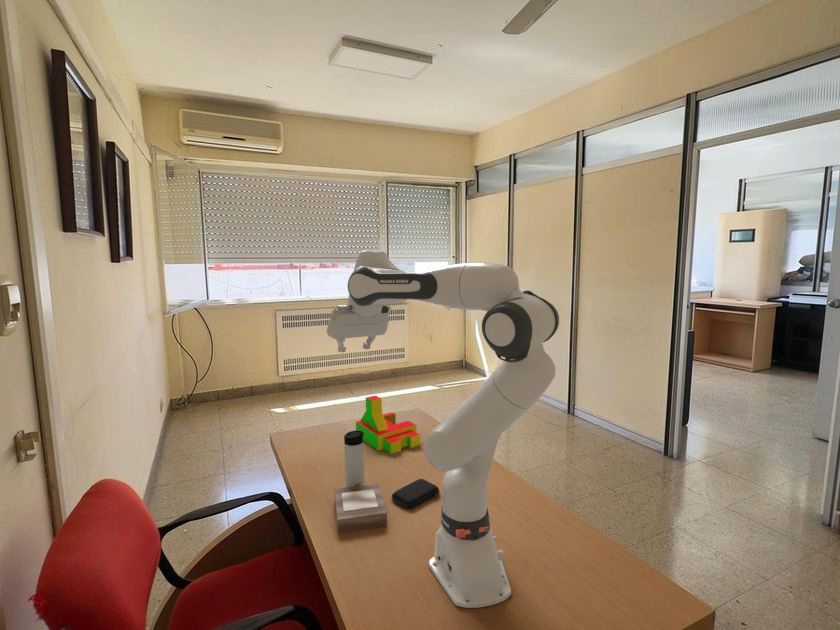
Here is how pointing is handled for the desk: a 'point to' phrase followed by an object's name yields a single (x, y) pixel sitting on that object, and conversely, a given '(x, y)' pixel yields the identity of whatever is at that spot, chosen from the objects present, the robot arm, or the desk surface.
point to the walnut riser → (359, 508)
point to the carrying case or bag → (415, 493)
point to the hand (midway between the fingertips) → (354, 350)
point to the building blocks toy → (386, 428)
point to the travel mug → (354, 458)
